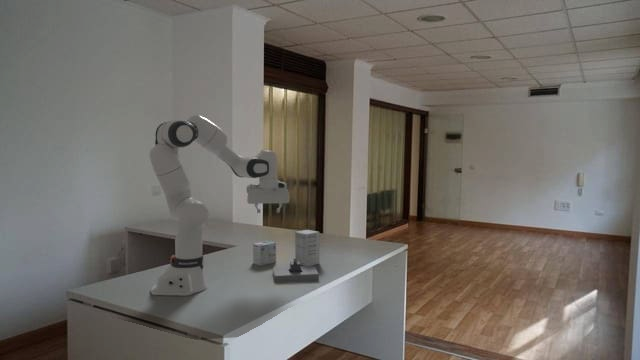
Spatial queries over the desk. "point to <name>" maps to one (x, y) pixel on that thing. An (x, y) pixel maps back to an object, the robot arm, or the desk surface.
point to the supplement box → (307, 247)
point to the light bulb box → (264, 253)
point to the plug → (295, 266)
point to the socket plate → (295, 274)
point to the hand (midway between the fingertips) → (268, 212)
